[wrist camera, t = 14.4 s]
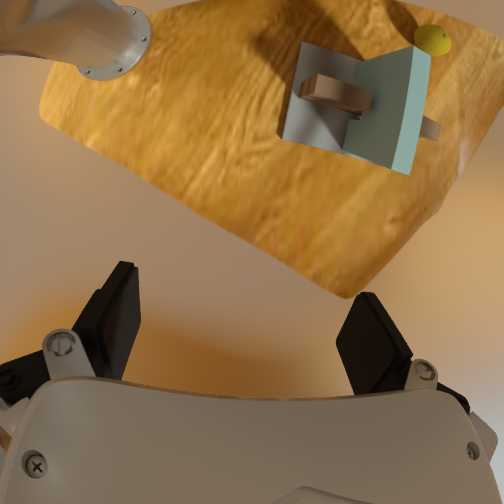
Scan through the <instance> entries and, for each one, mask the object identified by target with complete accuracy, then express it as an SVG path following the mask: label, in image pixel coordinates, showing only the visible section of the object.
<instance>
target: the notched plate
mask: <svg viewBox="0 0 504 504" xmlns="http://www.w3.org/2000/svg"><path fill="white" fill-rule="evenodd" d="M430 64H431V56H430V55H429V54H427V53H425V52H423V51H422V50H420V49H418V48H416V47H415V46H412V47H408V48H405V49H401V50H398V51H394V52H391V53H388V54H385V55H382V56H378V57H375V58H372V59H370V60H367V61H364V62H361V63H360V64H359V70H358V76H357V81H356V86H357V87H359V88H362V89H365V90H367V91H370V92H372V93H373V95H372V100H371V105H370V109H369V111H362V116H361V120H352V119H349V122H348V127H347V132H346V136H345V141H344V145H343V150H342V151H345V152H348V153H351V154H353V155H356V156H359V157H361V158H364V159H367V160H369V161H372V162H374V163H377V164H379V165H382V166H384V167H386V168H389V169H391V170H394V171H397V172H400V173H403V174H406V175H409V174H410V170H411V167H412V163H413V159H414V155H415V151H416V146H417V142H418V138H419V133H420V128H421V123H422V118H423V113H424V107H425V101H426V95H427V88H428V81H429V73H430Z"/></svg>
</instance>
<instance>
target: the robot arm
mask: <svg viewBox="0 0 504 504" xmlns="http://www.w3.org/2000/svg"><path fill="white" fill-rule="evenodd" d="M135 13H136V14H135ZM151 36H152V28H151V23H150V21H149V19H148V18H147V16H146V15H145V14H144V13H143V12H142V11H141V10H139V9H137V8H134V7H131V6H118V5H117V4H116V3H115V2H113V1H112V0H0V56H3V55H19V56H28V57H36V58H42V59H48V60H53V61H59V62H64V63H69V64H73V65H76V66H77V68H78V70H79V71H80V73H82V74H83V75H84V76H85V77H87V78H89V79H93V80H98V81H106V80H111V79H115V78H117V77H120V76H122V75H123V74H125V73H127V72H128V71H130V70H131V69H132V68H133V67H135V66H136V65H137V63H138V62H139V61H140V60H141V59H142V57H143V56H144V55H145V53H146V51H147V49H148V47H149V45H150V41H151ZM145 39H146V41H144V40H145ZM121 69H122V71H120V70H121ZM89 72H90V73H89ZM140 323H141V313H140V299H139V277H138V267H134V263H131V262H125V261H120V262H119V263H118V264H117V266H116V267H115V269H114V270H113V272H112V273H111V275H110V276H109V278H108V279H107V281H106V282H105V284H104V285H103V287H102V288H101V289H97V290H96V291H95V292H94V294H93V295H92V297H91V298H90V300H89V301H88V303H87V305H86V306H85V308H84V309H83V311H82V313H81V314H80V316H79V318H78V319H77V321H76V323H75V324H74V326H73V328H72V329H71V330H69V329H57V330H54V331H52V332H50V333H49V334H48V335H47V336H46V337H45V338H44V340H43V343H42V348H43V349H42V350H40V351H37V352H34V353H31V354H29V355H26V356H23V357H20V358H17V359H15V360H12V361H9V362H6V363H4V364H2V365H0V504H502V501H501V498H500V494H499V490H498V487H497V484H496V481H495V478H494V474H493V471H492V469H491V466H490V463H489V462H490V460H491V458H492V456H493V453H494V451H495V449H496V446H497V443H498V438H497V435H496V433H495V432H494V431H493V430H492V429H491V428H490V427H489V426H488V425H487V424H486V423H485V422H484V421H483V420H482V419H480V418H479V417H478V416H477V415H476V414H475V413H474V412H473V411H472V412H471V413H469V412H470V406H469V403H468V401H467V399H466V398H465V397H464V396H462V395H460V394H458V393H457V392H455V391H453V390H451V389H450V388H448V387H446V386H444V385H443V384H441V383H439V382H437V380H438V373H437V370H436V369H435V367H434V366H433V365H432V364H431V363H429V362H428V361H426V360H423V359H415V360H414V361H411V357H412V356H413V353H412V351H411V350H410V348H409V346H408V345H407V343H406V341H405V340H404V338H403V337H402V335H401V333H400V332H399V330H398V329H397V327H396V325H395V324H394V322H393V321H392V319H391V318H390V316H389V315H388V313H387V311H386V310H385V308H384V307H383V305H382V304H381V302H380V301H379V299H378V298H377V296H376V295H375V294H374V293H372V292H361V293H360V294H359V295H357V296H356V298H355V300H354V302H353V305H352V307H351V309H350V311H349V313H348V315H347V318H346V320H345V322H344V324H343V326H342V328H341V330H340V332H339V335H338V336H337V339H336V346H337V349H338V352H339V354H340V357H341V359H342V362H343V365H344V367H345V370H346V373H347V376H348V378H349V381H350V384H351V387H352V389H353V392H354V395H350V396H335V397H313V398H312V397H311V398H269V397H268V398H267V397H246V396H230V395H218V394H207V393H199V392H190V391H182V390H176V389H168V388H162V387H155V386H149V385H144V384H139V383H133V382H128V381H122V380H121V379H122V376H123V373H124V370H125V367H126V364H127V361H128V358H129V355H130V352H131V349H132V347H133V344H134V341H135V338H136V335H137V333H138V330H139V327H140Z"/></svg>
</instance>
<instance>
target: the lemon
mask: <svg viewBox="0 0 504 504" xmlns="http://www.w3.org/2000/svg"><path fill="white" fill-rule="evenodd" d="M414 42H415V44H416V46H417V48H418V49H420V50H422V51H423V52H425V53H427V54H429V55H430V56H435V57H436V56H442V55H444V54H446V53H447V52H448V51H449V50H450V48H451V39H450V36H449V35H448V33H447V32H446V31H445V30H444V29H443V28H441V27H439V26H437V25H430V24H427V25H423V26H420V27H419V28H418V29H416V31H415V33H414Z"/></svg>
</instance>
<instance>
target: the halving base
mask: <svg viewBox="0 0 504 504" xmlns="http://www.w3.org/2000/svg"><path fill="white" fill-rule="evenodd" d="M361 62H363V61H361V60H358V59H356V58H353V57H350V56H348V55H345V54H342V53H339V52H336V51H333V50H330V49H327V48H324V47H320V46H317V45H313V44H310V43H306V42H301V45H300V50H299V55H298V60H297V65H296V69H295V74H294V79H293V84H292V89H291V94H290V99H289V104H288V108H287V113H286V118H285V123H284V128H283V133H282V137H281V139H282V140H287V141H292V142H296V143H301V144H305V145H309V146H313V147H318V148H322V149H325V150H329V151H333V152H337V153H340V154H344V155H348V156H351V157H354V158H358V159H361V160H364V161H368V162H371V163H374V162H372V161H369V160H367V159H364V158H361V157H359V156H356V155H353V154H351V153H348V152H345V151H342V150H343V145H344V141H345V136H346V132H347V127H348V122H349V119H352V120H361V116H362V111H369V109H370V105H371V100H372V95H373V93H372V92H370V91H367V90H365V89H362V88H359V87H357V86H356V81H357V76H358V70H359V64H360V63H361ZM440 128H441V125H440V124H438V123H436V122H435V121H433V120H431V119H429V118H427V117H425V116H423V118H422V123H421V128H420V133H419V137H421V138H426V139H430V140H435V141H438V137H439V133H440ZM374 164H377V163H374ZM377 165H379V164H377ZM380 166H382V165H380ZM383 167H384V166H383Z"/></svg>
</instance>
